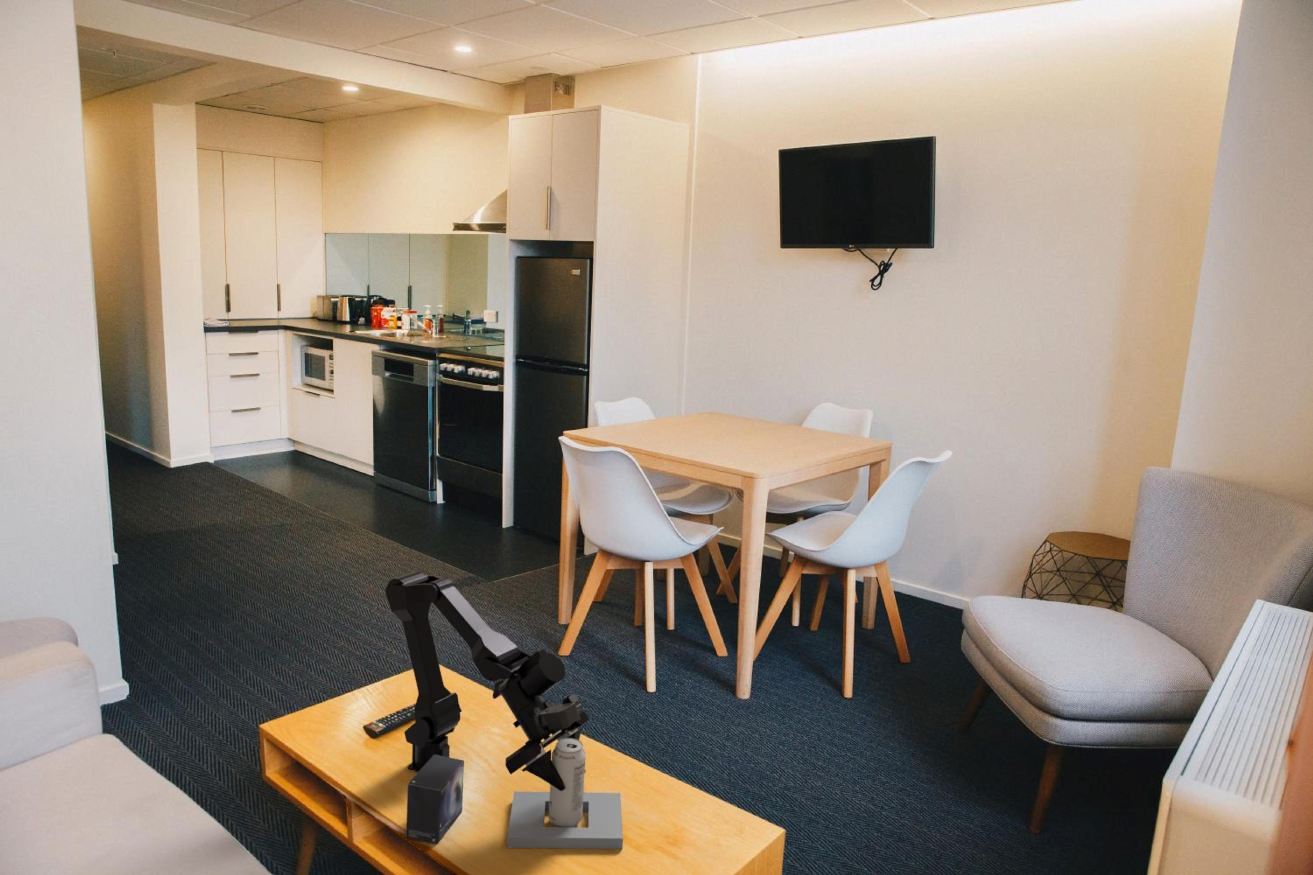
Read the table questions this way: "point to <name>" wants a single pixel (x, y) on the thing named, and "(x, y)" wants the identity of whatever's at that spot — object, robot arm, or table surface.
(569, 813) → the energy drink can
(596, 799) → the hole board
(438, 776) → the small box
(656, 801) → the table surface
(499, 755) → the table surface
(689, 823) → the table surface
